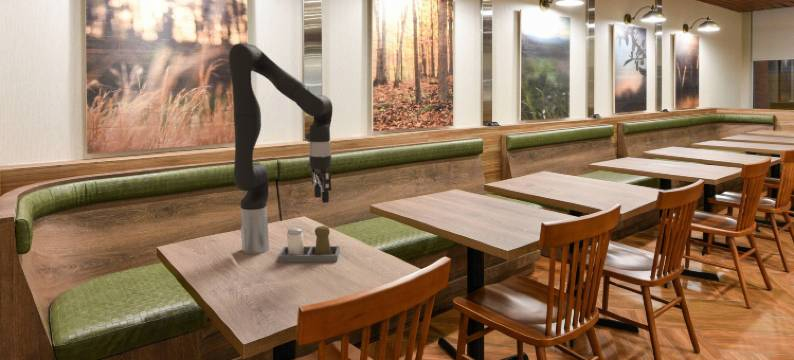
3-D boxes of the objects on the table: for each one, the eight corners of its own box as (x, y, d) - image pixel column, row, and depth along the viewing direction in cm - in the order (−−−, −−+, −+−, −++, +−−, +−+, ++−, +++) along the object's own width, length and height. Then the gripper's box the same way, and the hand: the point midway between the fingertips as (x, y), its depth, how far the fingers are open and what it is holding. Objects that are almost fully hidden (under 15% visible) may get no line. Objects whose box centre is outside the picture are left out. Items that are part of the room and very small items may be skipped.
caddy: (278, 264, 190) (278, 256, 189) (284, 254, 200) (283, 246, 200) (337, 263, 190) (337, 255, 190) (339, 253, 201) (339, 246, 200)
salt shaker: (290, 260, 191) (289, 232, 189) (286, 255, 196) (285, 228, 194) (306, 258, 194) (305, 230, 192) (301, 253, 199) (300, 226, 197)
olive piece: (328, 259, 192) (327, 229, 190) (312, 258, 193) (311, 228, 191) (333, 254, 198) (332, 224, 196) (318, 253, 199) (316, 224, 197)
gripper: (303, 152, 193) (305, 196, 196) (316, 157, 180) (317, 205, 183) (324, 150, 196) (325, 194, 199) (337, 156, 184) (338, 203, 187)
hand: (321, 199), depth 191 cm, fingers open, 8 cm apart
